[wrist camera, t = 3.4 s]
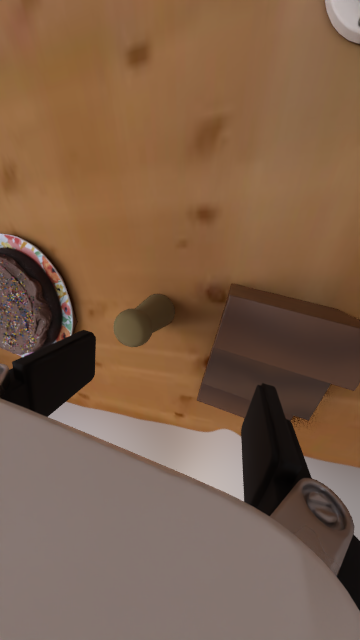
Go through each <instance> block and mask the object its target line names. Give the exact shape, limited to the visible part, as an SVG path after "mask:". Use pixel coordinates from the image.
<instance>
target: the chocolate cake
mask: <svg viewBox="0 0 360 640" xmlns="http://www.w3.org/2000/svg"><path fill="white" fill-rule="evenodd" d="M76 324H77V320H76V317H75V315H74V311H73V307H72V304H71V301H70V298H69V295H68V292H67V289H66V287H65V284H64V281H63V278H62V276H61V275H60V274H59V273H58V271H57V270H56V268H55V267H54V266H53V264H52V263H51V262H50V261H49V259H48V258H47V257H46V256H45V255H44V254H43V253H42V252H41V251H40V248H38V247H35V246H34V245H32V244H31V243H29V242H28V241H26V240H24V239H21V238H20V237H15V236H13V235H9V234H2V233H1V234H0V347H1V348H2V349H5V350H7V351H10V352H12V353H13V354H18V355H20V356H22V357H24V356H26V355H29V354H31V353H33V352H35V351H38V350H40V349H42V348H44V347H46V346H49V345H51V344H53V343H55V342H57V341H60V340H62V339H64V338H66V337H69V336H71V335H72V333H73V331H74V328H75V325H76Z"/></svg>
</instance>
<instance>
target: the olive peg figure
mask: <svg viewBox="0 0 360 640" xmlns="http://www.w3.org/2000/svg"><path fill="white" fill-rule="evenodd" d="M174 314H175V309H174V306H173V303H172V302H171V301H170V299H169V298H167V297H166V296H164V295H161V294H153V295H151V296H149V297H148V298H147V299H146V300H144V301H143V302H142V303H141V304H140V305H139V306H137V307H136V308H135V309H127V310H125V311H122V312H121V313H120V314H119V315H118V316H117V317H116V319H115V321H114V333H115V335H116V338H117V339H118V340H119V341H120V342H121V343H122V344H124V345H126V346H129V347H138V346H141V345H143V344H144V343H146V342H147V341H148V340H149V338H150V337H151V335H152V333H153V332H155V331H157V330H159V329H161V328H163V327H164V326H166V325H168V324H169V323H170V322H171V321H172V320H173V318H174Z"/></svg>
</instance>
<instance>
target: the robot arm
mask: <svg viewBox="0 0 360 640" xmlns="http://www.w3.org/2000/svg"><path fill="white" fill-rule="evenodd" d="M325 5H326V10H327V14H328V16H329V18H330V21H331V23H332V25H333V26H334V28H335V29H336V30H337V31H338V33H339V34H340V35H342V36H343V37H345V38H346V39H347V40H349V41H352V42H355V43H358V44H360V0H325ZM95 346H96V337H95V336H94V334H93V333H92V332H88V331H85V330H82V331H80V332H77V333H75V334H73V335H71V336H69V337H66V338H64V339H62V340H60V341H57V342H55V343H53V344H51V345H49V346H46V347H44V348H42V349H40V350H38V351H35V352H33V353H31V354H29V355H26V356H24V357H22V358H20V359H18V360H15V361H13V362H12V364H13V368H12V369H10V370H9V368H8V366H7V365H5V364H0V640H360V541H359V540H358V539H357V538H356V537H355V536H354V535H353V534H354V524H353V520H352V517H351V516H350V513H349V511H348V509H347V508H346V506H345V505H344V504H343V502H342V501H341V500H340V499H339V497H338V496H337V495H336V494H335V493H334V492H333V491H332V490H331V489H329V488H328V487H327V486H325V485H324V484H322V483H321V482H318V481H317V480H314V479H312V478H311V475H310V473H309V470H308V467H307V464H306V462H305V459H304V456H303V453H302V450H301V448H300V445H299V442H298V439H297V437H296V434H295V431H294V428H293V425H292V423H291V421H290V420H288V419H286V418H285V415H284V412H283V409H282V406H281V403H280V400H279V397H278V394H277V391H276V388H275V387H274V386H271V385H268V384H264V383H262V384H261V385H257V387H256V389H255V392H254V395H253V397H252V400H251V403H250V406H249V408H248V411H247V414H246V416H245V419H244V422H243V425H242V429H241V438H242V460H243V482H244V502H243V501H241V500H239V499H237V498H235V497H233V496H231V495H229V494H227V493H225V492H223V491H221V490H218V489H216V488H214V487H212V486H209V485H207V484H205V483H203V482H200V481H198V480H196V479H194V478H191V477H189V476H187V475H184V474H182V473H180V472H177V471H175V470H173V469H170V468H168V467H166V466H163V465H161V464H158V463H156V462H154V461H151V460H149V459H147V458H144V457H142V456H140V455H137V454H135V453H133V452H130V451H128V450H125V449H123V448H121V447H118V446H116V445H113V444H111V443H109V442H106V441H104V440H101V439H99V438H97V437H94V436H92V435H89V434H87V433H85V432H82V431H80V430H77V429H75V428H73V427H70V426H68V425H65V424H63V423H60V422H58V421H56V420H53V419H51V418H48V416H49V415H50V414H51V413H53V412H54V411H55V410H56V409H57V408H59V407H60V406H61V405H62V404H63V403H65V402H66V401H67V400H68V399H69V398H71V397H72V396H73V395H74V394H75V393H77V392H78V391H79V390H80V389H81V388H83V387H84V386H85V385H86V384H87V383H89V382H90V381H91V380H92V379H93V377H94V375H95Z"/></svg>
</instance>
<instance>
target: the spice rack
mask: <svg viewBox="0 0 360 640" xmlns="http://www.w3.org/2000/svg"><path fill="white" fill-rule="evenodd" d="M262 383H264V384H268V385H271V386H274V387H275V388H276V391H277V394H278V397H279V400H280V403H281V406H282V409H283V412H284V415H285V418H286V419H288V420H290V421H291V419H292V417H293V415H294V416H297V417H300V418H303V419H306V420H309V419H310V417H311V416H312V414H313V412H314V411H315V409H316V408H317V406H318V404H319V403H320V401H321V399H322V398H323V396H324V394H325V393H326V391H327V389H328V388H329V386H330V384H333V385H337V386H340V387H343V388H346V389H349V390H353V391H354V390H355V389H356V387H357V386H358V384H359V383H360V320H358V319H356V318H354V317H352V316H350V315H348V314H346V313H344V312H342V311H340V310H338V309H334V308H330V307H326V306H322V305H318V304H314V303H310V302H306V301H302V300H298V299H294V298H289V297H285V296H281V295H277V294H273V293H269V292H265V291H261V290H257V289H253V288H249V287H245V286H240V285H236V284H231V287H230V291H229V294H228V297H227V300H226V304H225V307H224V310H223V314H222V317H221V320H220V324H219V327H218V330H217V334H216V337H215V340H214V344H213V347H212V350H211V353H210V357H209V360H208V363H207V367H206V370H205V373H204V377H203V380H202V383H201V387H200V390H199V394H198V397H197V401H200V402H203V403H205V404H208V405H211V406H214V407H216V408H219V409H222V410H224V411H227V412H230V413H232V414H235V415H238V416H240V417H243V418H245V416H246V414H247V411H248V408H249V406H250V403H251V400H252V397H253V395H254V392H255V389H256V387H257V385H261V384H262Z"/></svg>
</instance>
